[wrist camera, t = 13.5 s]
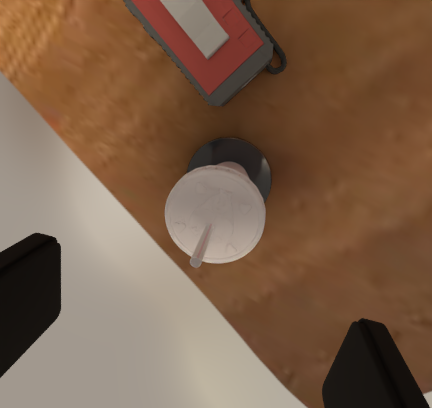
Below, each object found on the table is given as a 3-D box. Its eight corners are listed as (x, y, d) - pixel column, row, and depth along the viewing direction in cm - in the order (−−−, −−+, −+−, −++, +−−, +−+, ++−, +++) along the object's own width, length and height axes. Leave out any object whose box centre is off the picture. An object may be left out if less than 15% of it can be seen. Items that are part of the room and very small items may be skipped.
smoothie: (185, 196, 28) (120, 277, 15) (210, 134, 26) (158, 164, 12) (246, 223, 28) (234, 327, 15) (275, 163, 26) (293, 223, 12)
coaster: (195, 128, 26) (193, 129, 26) (281, 147, 26) (281, 148, 25) (182, 208, 29) (180, 210, 28) (259, 226, 28) (259, 229, 28)
